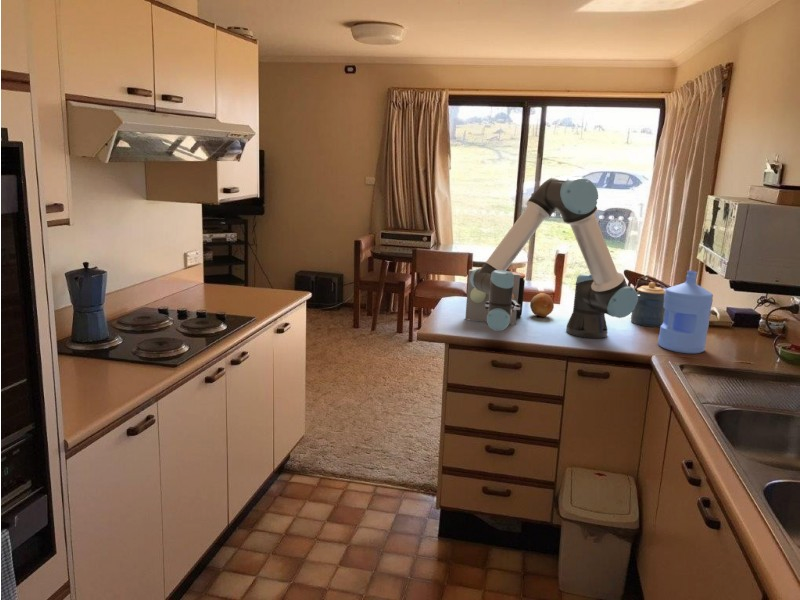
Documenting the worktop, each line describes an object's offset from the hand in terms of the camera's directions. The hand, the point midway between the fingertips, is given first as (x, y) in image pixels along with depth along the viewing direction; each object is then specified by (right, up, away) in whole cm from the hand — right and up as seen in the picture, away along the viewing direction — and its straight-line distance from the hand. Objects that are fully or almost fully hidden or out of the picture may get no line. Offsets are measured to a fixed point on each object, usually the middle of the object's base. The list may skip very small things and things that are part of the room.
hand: (505, 298), depth 238 cm
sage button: (-10, -1, +8) cm, 13 cm away
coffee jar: (+5, -8, +20) cm, 21 cm away
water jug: (+60, -18, -17) cm, 65 cm away
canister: (+62, -11, +18) cm, 66 cm away
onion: (+18, -8, +21) cm, 29 cm away
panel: (-5, -9, +9) cm, 14 cm away
